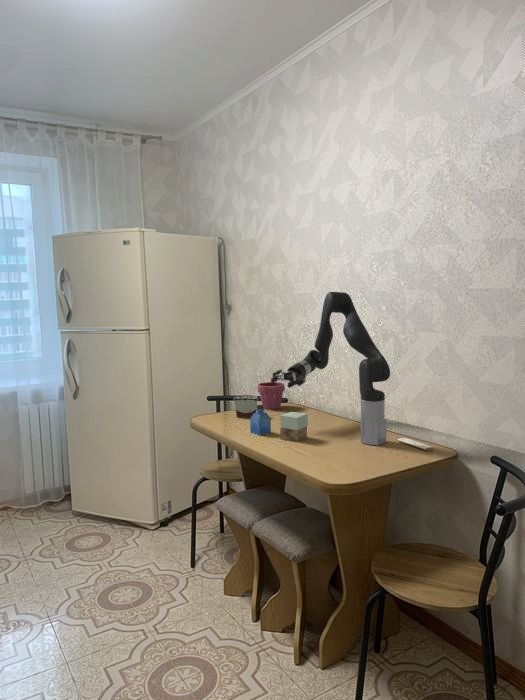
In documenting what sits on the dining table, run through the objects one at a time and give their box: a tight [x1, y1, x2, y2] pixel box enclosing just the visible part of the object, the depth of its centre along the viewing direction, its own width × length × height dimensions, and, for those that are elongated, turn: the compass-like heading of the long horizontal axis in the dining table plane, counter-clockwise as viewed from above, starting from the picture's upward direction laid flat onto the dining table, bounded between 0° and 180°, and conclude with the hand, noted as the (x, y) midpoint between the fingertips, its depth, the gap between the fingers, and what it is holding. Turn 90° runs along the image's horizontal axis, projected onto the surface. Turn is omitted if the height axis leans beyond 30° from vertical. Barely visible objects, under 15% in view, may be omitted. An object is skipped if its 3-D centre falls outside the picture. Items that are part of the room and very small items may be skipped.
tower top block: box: [280, 411, 309, 430], centre depth 211 cm, size 8×8×5 cm
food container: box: [233, 394, 260, 418], centre depth 252 cm, size 12×6×10 cm, turn 84°
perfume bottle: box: [249, 404, 272, 436], centre depth 220 cm, size 6×6×12 cm
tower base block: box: [279, 426, 308, 443], centre depth 211 cm, size 8×8×5 cm
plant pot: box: [257, 381, 286, 411], centre depth 269 cm, size 14×14×13 cm
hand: (280, 383), depth 221 cm, fingers open, 8 cm apart
